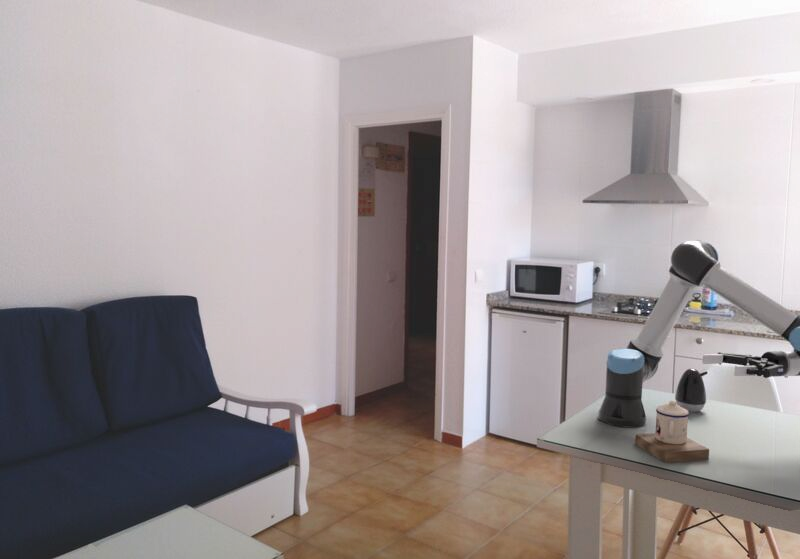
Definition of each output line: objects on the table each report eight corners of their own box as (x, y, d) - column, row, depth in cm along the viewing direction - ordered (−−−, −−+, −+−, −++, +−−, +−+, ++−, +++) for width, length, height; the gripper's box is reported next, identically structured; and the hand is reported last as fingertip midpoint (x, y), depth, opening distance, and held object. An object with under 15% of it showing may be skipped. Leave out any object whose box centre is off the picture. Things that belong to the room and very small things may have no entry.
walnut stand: (634, 444, 200) (635, 434, 200) (675, 441, 203) (675, 431, 203) (665, 462, 186) (666, 452, 185) (708, 459, 189) (709, 449, 189)
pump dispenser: (711, 415, 231) (714, 372, 229) (681, 414, 231) (684, 371, 229) (698, 406, 241) (701, 365, 239) (669, 405, 241) (672, 364, 240)
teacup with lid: (654, 432, 202) (657, 395, 200) (687, 437, 198) (689, 399, 197) (652, 445, 191) (655, 406, 190) (687, 450, 187) (690, 410, 186)
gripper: (812, 387, 188) (748, 389, 183) (747, 365, 212) (690, 366, 207) (815, 362, 187) (751, 363, 182) (750, 342, 211) (692, 343, 206)
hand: (718, 364), depth 194 cm, fingers open, 13 cm apart
